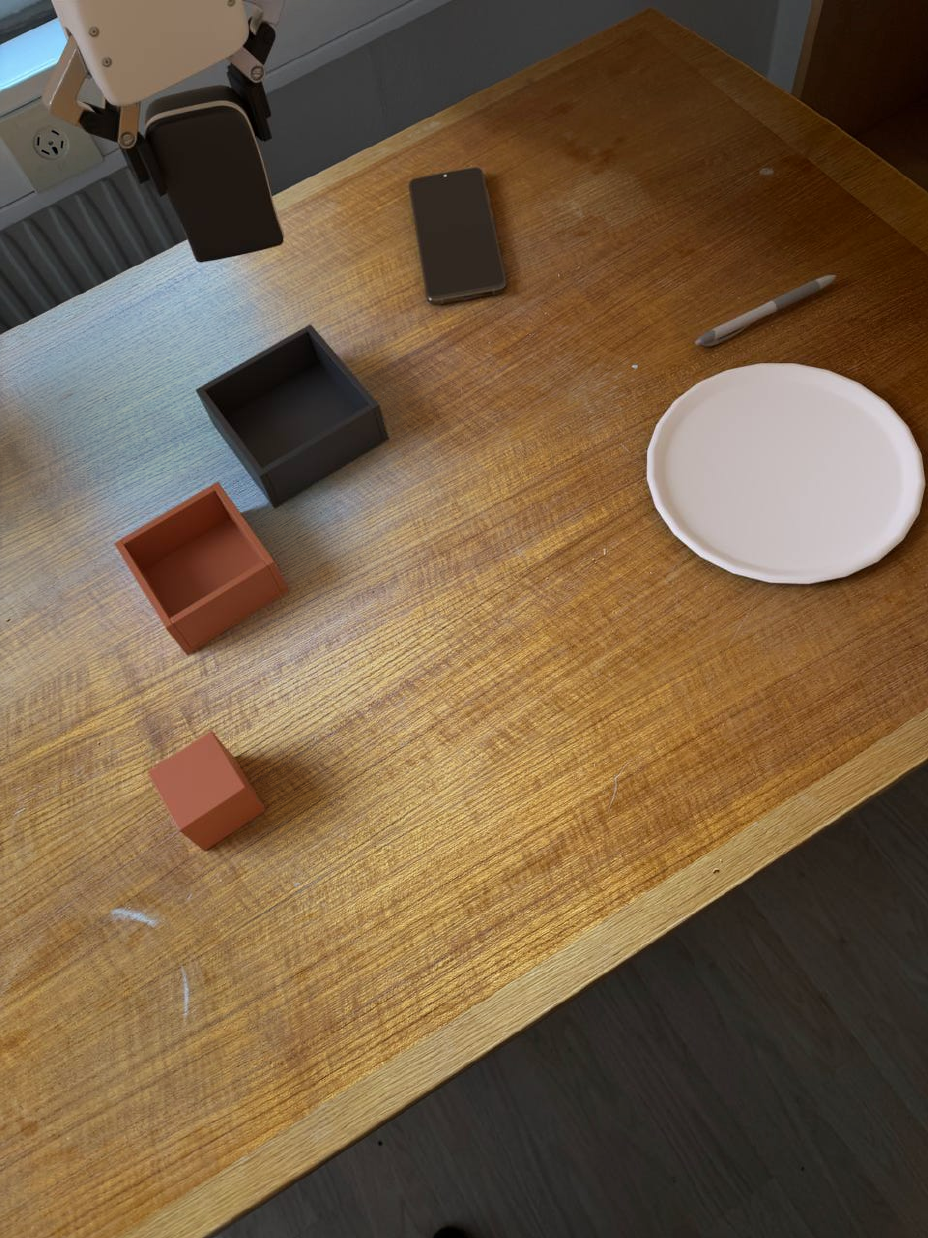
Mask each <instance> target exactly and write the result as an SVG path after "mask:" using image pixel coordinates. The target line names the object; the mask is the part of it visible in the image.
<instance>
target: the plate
mask: <svg viewBox="0 0 928 1238" xmlns="http://www.w3.org/2000/svg"><path fill="white" fill-rule="evenodd" d="M646 452H647V453H646V454H647V456H646V482H647V485H648V489H649V492H650V495H651V499H652V502H653V504H654V507H655V510H656V511H657V513H658V514H659V516H660V517H661V519H662V520H663V521H664V523H665V525H666V526H667V528H668V529H669V530H670V532H671V534H672V535H673V536H674V537H675V538H676V539H678V541H680V542H681V543H682V544H684V545H685V546H686V547H687V548H688V549H689V550H690V551H692V552H693V554H695V555H696V556H697V557H698V558H700V559H702V560H704V561H706V562H707V563H709V564H712V565H713V566H716V567H718V568H720V569H721V570H723V571H725V572H727V573H729V574H731V575H733V576H738V577H741V578H744V579H745V578H746V579H750V580H754V581H756V582H757V581H758V582H762V583H764V584H770V585H801V586H802V585H803V586H810V585H814V584H820V583H825V582H830V581H834V580H835V581H836V580H840V579H845V578H847V577H850V576H851V575H854V574H856V573H858V572H860V571H862V570H865V569H866V568H868V567H870V566H873V565H875V564H877V563H879V562H880V561H881V560H882V559H883V558H884V557H886V556H887V555H888V554H889V553H891V551H892V550H893V549H894V548H897V546H898V545H899V544H901V543H902V542H903V541H904V539H905V537H906V536H907V534H908V532H909V531H910V529H911V527H913V524H914V522H915V521H916V519H917V518H918V516H919V514H920V513H921V512H920V511H921V507H922V502H923V497H924V492H925V488H926V477H925V471H924V462H923V456H922V452H921V450H920V448H919V446H918V443H917V442H916V440H915V437H914V435H913V434H912V431H911V429H910V427H909V426H908V425H907V423H906V422H905V421H904V420H903V419H902V418H901V416H900V415H899V414H898V413H897V412H896V411H895V409H894V408H893V407H892V406H891V404H889V403H888V402H887V401H886V400H885V399H883V398H881V397H880V396H879V395H877V394H876V393H874V392H873V391H871V390H870V389H869V388H867V387H866V386H864V385H863V384H862V383H860V382H858V381H855V380H853V379H850V378H848V377H845V376H844V375H842V374H838V373H836V372H834V371H831V370H829V369H826V368H825V369H824V368H821V367H820V368H819V367H814V366H811V365H805V364H801V363H792V362H791V363H783V362H782V363H781V362H780V363H777V362H776V363H775V362H773V363H772V362H771V363H767V362H766V363H765V362H763V363H761V362H760V363H756V364H751V365H746V366H740V367H736V368H730V369H727V370H724V371H722V372H720V373H717V374H715V375H713V376H710V377H708V378H706V379H703V380H701V381H699V382H697V383H696V384H695V385H693V386H692V387H690V388H689V389H688V390H687V391H685V392H684V393H683V394H682V395H680V396H679V397H677V398H676V399H675V400H674V401H673V402H672V403H671V405H670V406H669V407H668V408H667V410H666V412H664V414H663V415H662V416H661V418H660V419H659V421H658V422H657V423H656V426H655V428H654V431H653V434H652V436H651V439H650V442H649V445H648V448H647V450H646Z"/></svg>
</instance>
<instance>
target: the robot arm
mask: <svg viewBox="0 0 928 1238" xmlns="http://www.w3.org/2000/svg"><path fill="white" fill-rule="evenodd" d="M244 2H247V3H249V4H253V9H252V16H250V17H249V18H248V16H247V11H246V9H245V5H244ZM51 3H52V5H53V8H54V11H55V13H56V16H57V19H58V21H59V24H60V27H61V29H62V32H63V34H64V37H65V39H66V43H65V45H64V48H63V50H62V52H61V54H60V56H59V59H58V60H57V63H56V65H55V67H54V69H53V71H52V73H51V76H50V78H49V79H48V82H47V84H46V86H45V89H44V90H43V92H42V95H41V102H42V104H43V105H44V107H45V108H46V109H47V111H48V112H49V113H50V114H51V115H52V116H53V117H55V118H57V119H59V120H61V121H64V122H66V123H68V124H70V125H72V126H74V127H78V128H80V129H82V130H84V132H86V133H88V134H89V135H93V136H94V137H98V138H102V139H104V140H107V141H111V142H114V143H116V144H117V146H118V147H119V150H120V152H121V154H122V156H123V159H124V161H125V163H126V165H127V167H128V170H129V171H130V173H131V175H132V176H133V178H134V180H135V181H136V182H137V184H138V185H142V184H144V183H147V184H148V185H149V186H150V187H151V189H152V190H153V191H154V192H155V193H156V195H157V196H158V197H159V198H162V197H163V196H165V195H166V194H167V192H166V191H168V188H167V185H166V183H165V181H164V178H163V176H162V173H161V171H160V169H159V166H158V164H157V162H156V159H155V157H154V154H153V152H152V150H151V147H150V145H149V143H148V142H147V140H146V139H145V136H144V135H143V134H142V133H141V132H140V130H139V126H140V125H139V124H140V115H141V106H142V101H144V100H146V99H149V98H150V97H153V96H154V95H157V94H158V93H160V92H162V91H164V90H166V89H169V88H171V87H172V86H175V85H177V84H178V83H181V82H182V81H184V80H187V79H188V78H190V77H192V76H194V75H196V74H199V73H200V72H202V71H204V70H206V69H209V68H210V67H212V66H214V65H216V64H218V63H220V62H222V61H223V60H225V59H226V60H227V61H228V62H230V64H228V65H227V66H226V69H227V72H226V76H227V80H228V83H229V85H230V86H229V87H230V88H232V89H234V90H235V91H236V92H237V93H238V94H239V95H240V96H241V98H242V100H243V102H244V104H245V106H246V109H247V111H248V114H249V117H250V120H251V123H252V126H253V129H254V132H255V135H256V138H257V140H259V141H260V142H264V143H267V142H268V141H270V140H272V138H273V136H272V133H271V129H270V126H269V122H268V119H269V118H271V117H272V112H271V108H270V105H269V101H268V97H267V94H266V91H265V88H264V84H263V80H264V79H265V77H266V75H267V69H266V67H265V64H266V61H267V59H268V57H269V55H270V52H271V50H272V48H273V45H274V43H275V41H276V38H277V34H276V26H278V25H279V21H280V18H281V16H282V14H283V13H282V12H283V9H284V7H285V4H286V0H51ZM91 79H93V81H94V83H95V84H96V86H97V87H98V89H100V91H101V93H102V95H101V107H100V106H97V105H95V104H92V103H89V102H86V101H81V100H79V99H78V95H79V94H80V90H81V88H82V86H83V85H84V83H85V80H91Z"/></svg>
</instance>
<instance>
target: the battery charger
mask: <svg viewBox="0 0 928 1238" xmlns="http://www.w3.org/2000/svg"><path fill="white" fill-rule="evenodd" d="M143 133H144V135H143V137H144V138H145V139H146V140H147V142H148V143H149V145H150V147H151V150H152V152H153V154H154V157H155V159H156V162H157V164H158V166H159V169H160V171H161V173H162V176H163V178H164V181H165V183H166V185H167V188H168V191H166V192H167V194H165V195H166V197H167V199H168V202H169V203H170V205H171V208H172V210H173V211H174V214H175V216H176V218H177V219H178V222H179V223H180V226H181V228H182V230H183V233H184V235H185V237H186V240H187V242H188V245H189V247H190V249H191V253H192V256H193V258H194V260H195V261H196V263H200V264H202V263H207V262H213V261H219V260H223V259H229V258H234V257H238V256H243V255H247V254H252V253H256V252H260V251H264V250H268V249H272V248H276V247H279V246H281V245H283V243H284V240H285V232H284V229H283V227H282V224H281V221H280V219H279V216H278V215H279V214H278V213H277V209H276V206H275V203H274V199H273V195H272V191H271V187H270V184H269V179H268V176H267V171H266V167H265V164H264V163H265V162H264V159H263V157H262V152H261V149H260V144H259V142H258V137H257V136H256V135H255V132H254V129H253V126H252V123H251V120H250V117H249V114H248V111H247V109H246V106H245V104H244V102H243V100H242V98H241V96H240V95H239V94H238V93H237V92H236V91H235V90H234V89H232V88H231V86H229V85H223V84H216V85H209V86H205V87H199V88H194V89H193V88H192V89H189V90H185V91H180V92H175V93H172V94H167V95H164V96H161V97H158V98H156V99H154V100H153V101H152V102H151V103H149V104H148V106H147V108H146V110H145V117H144V132H143Z"/></svg>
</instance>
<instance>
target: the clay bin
mask: <svg viewBox="0 0 928 1238" xmlns="http://www.w3.org/2000/svg"><path fill="white" fill-rule="evenodd" d="M113 545H114V547H115V548H116V549H117V551H118V553H119V554H120V556H121V558H122V559H123V561H124V563H125V564H126V567H128V569H129V571H130V572H131V574H132V576H133V577H134V579H135V580H136V582H137V584H138V586H139V587H140V589H141V591H142V592H143V594H144V596H145V597H146V599H147V600H148V602H149V604H150V606H151V607H152V608H153V610H154V612H155V614H156V615H157V617H158V619H159V620H160V621H161V623H162V625H163V627H164V628H165V630H166V631H167V633H169V635H170V636H171V637H172V638H173V640H174V641H175V643H177V645H178V646H179V647H180V649H181V650H182V651H183V652H184V654H185V655H189V654H191V653H192V652H193V651H195V650H197V649H199V648H200V647H202V646H203V645H205V644H207V643H208V642H210V641H213V639H216V638H217V637H219V636H220V635H221V634H223V633H225V632H226V631H228V630H230V629H231V628H233V627H234V626H236V625H237V624H239V623H241V622H242V621H244V620H245V619H247V618H249V617H250V616H252V615H254V614H255V613H256V612H258V611H259V610H261V609H263V608H264V607H266V606H268V605H270V604H271V603H273V602H274V601H276V600H278V599H279V598H281V597H282V596H283V595H285V594H287V593H289V592H290V589H289V587H288V584H287V583H286V581H285V579H284V578H283V574H282V573H281V571H280V569H279V567H278V565H277V564H276V562H275V560H274V558H273V557H272V556H271V554H270V553H269V551H268V550H267V549H266V547H265V546H264V544H263V543H262V542H261V540H260V539H259V537H258V535H256V533H255V531H254V530H253V529H252V528H251V526H250V524H249V523H248V522H247V520H246V519H245V518H244V516H243V514H242V513H241V512H240V511H239V509H238V507H237V506H236V504H235V503H234V502H233V501H232V499H231V497H230V496H229V495H228V493H227V492H226V490H225V489H224V488H223V486H222V484H221V483H220V482H219V481H216V482H215V483H213V484H211V485H210V486H208V487H206V488H204V489H202V490H201V491H200V492H198V493H196V494H194V495H192V496H191V497H189V498H187V499H186V500H184V501H182V502H181V503H179V504H178V505H176V506H174V507H172V508H171V509H169V510H167V511H165V512H164V513H162V514H161V515H159V516H157V517H155V518H154V519H152V520H150V521H149V522H147V523H145V524H144V525H142V526H140V527H138V528H137V529H135V530H134V531H132V532H130V533H128V534H126V535H125V536H123V537H121V539H118V540H117V541H115V542H114V543H113Z"/></svg>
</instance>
